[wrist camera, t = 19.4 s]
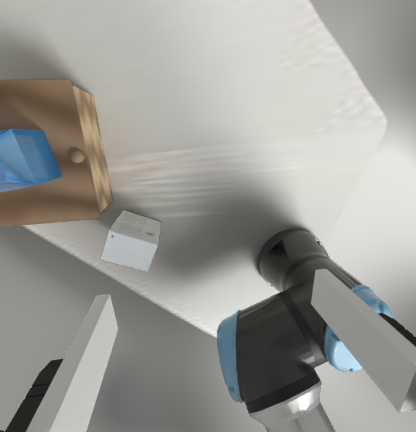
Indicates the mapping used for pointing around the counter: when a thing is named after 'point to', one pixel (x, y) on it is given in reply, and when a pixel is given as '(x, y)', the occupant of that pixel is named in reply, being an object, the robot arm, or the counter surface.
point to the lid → (61, 147)
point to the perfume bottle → (25, 159)
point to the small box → (132, 241)
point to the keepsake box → (94, 147)
